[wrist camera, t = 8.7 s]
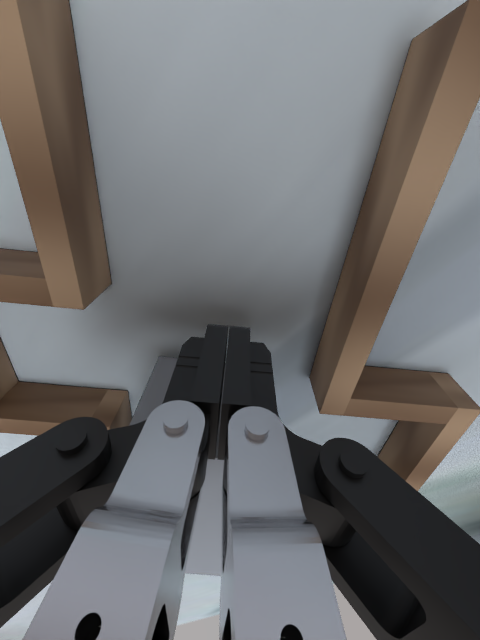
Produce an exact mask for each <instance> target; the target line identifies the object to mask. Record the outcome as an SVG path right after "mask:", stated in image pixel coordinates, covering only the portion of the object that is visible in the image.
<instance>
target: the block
mask: <svg viewBox="0 0 480 640" xmlns="http://www.w3.org/2000/svg"><path fill="white" fill-rule="evenodd" d="M177 360H178V358H171V357H161V356H159V358H158V361H157V363H156V365H155V367H154V370H153V372H152V374H151V377H150V379H149V381H148V383H147V386H146V388H145V390H144V393H143V395H142V397H141V400H140V402H139V404H138V406H137V409H136V411H135V413H134V416H133V418H132V420H131V422H130V425H134V424H137V423H140V422H142V421H144V420H146V419H147V418H148V417H149V415H150V414H151V412H152V411H153V410H154V409H156V408H157V407H158V406H160V405H162V403H163V401H164V398H165V395H166V392H167V389H168V386H169V383H170V380H171V377H172V374H173V371H174V368H175V367H176V362H177ZM225 368H226V363H225ZM224 378H225V370H224ZM223 387H224V380H223ZM222 397H223V389H222ZM221 408H222V399H221ZM221 408H220V417H219V427H218V436H217V446H216V455H215V460H213V459H208V461H207V468H206V476H205V481H204V483H203V487H202V493H201V498H200V502H199V507H198V512H197V517H196V522H195V526H194V531H193V536H192V541H191V546H190V550H189V555H188V560H187V565H186V570H185V573H186V574H200V575H214V576H221V509H222V481H223V469H224V460H217V458H218V445H219V433H220V420H221ZM130 425H129V426H130Z"/></svg>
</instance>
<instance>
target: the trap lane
mask: <svg viewBox="0 0 480 640" xmlns="http://www.w3.org/2000/svg"><path fill="white" fill-rule="evenodd" d="M479 98H480V0H468V1H466V2H465V3H463V4H462V5H460V6H459V7H458V8H456V9H455V10H453V11H452V12H450V13H449V14H448V15H446V16H445V17H443V18H442V19H441V20H439V21H438V22H436V23H435V24H433V25H432V26H431V27H429V28H428V29H426V30H425V31H423V32H422V33H421V34H419V35H418V36H416V37H415V38H413V39H412V42H411V45H410V49H409V52H408V55H407V59H406V62H405V65H404V68H403V72H402V75H401V78H400V81H399V85H398V88H397V91H396V95H395V98H394V101H393V104H392V108H391V111H390V114H389V118H388V121H387V124H386V127H385V131H384V134H383V137H382V141H381V144H380V147H379V150H378V154H377V157H376V160H375V164H374V167H373V170H372V173H371V177H370V180H369V183H368V187H367V190H366V193H365V196H364V200H363V203H362V206H361V210H360V213H359V216H358V219H357V223H356V226H355V229H354V232H353V236H352V239H351V242H350V246H349V249H348V252H347V255H346V259H345V262H344V265H343V269H342V272H341V275H340V278H339V282H338V285H337V288H336V292H335V295H334V298H333V301H332V305H331V308H330V311H329V315H328V318H327V321H326V324H325V328H324V331H323V334H322V338H321V341H320V344H319V347H318V351H317V354H316V357H315V360H314V364H313V367H312V370H311V374H310V377H309V378H310V381H311V385H312V388H313V392H314V395H315V399H316V402H317V406H318V409H319V413H320V414H331V415H343V416H355V417H366V418H378V419H390V420H399V422H398V423H397V425H396V427H395V428H394V430H393V432H392V434H391V435H390V437H389V439H388V440H387V442H386V444H385V445H384V447H383V449H382V450H381V452H380V454H379V456H378V458H379V459H380V460H381V461H383V462H384V463H385V464H386V465H387V466H388V467H390V468H391V469H392V470H393V471H394V472H396V473H397V474H398V475H399V476H400V477H401V478H403V479H404V480H405V481H406V482H407V483H408V484H410V485H411V486H412V487H413V488H414V489H415V490H417V491H418V490H419V489H420V487H421V486H422V485H423V484H424V482H425V481H426V480H427V479H428V477H429V476H430V475H431V474H432V472H433V471H434V470H435V469H436V467H437V466H438V465H439V464H440V462H441V461H442V460H443V459H444V457H445V456H446V455H447V454H448V452H449V451H450V450H451V449H452V447H453V446H454V445H455V444H456V442H457V441H458V440H459V439H460V437H461V436H462V435H463V434H464V432H465V431H466V430H467V429H468V427H469V426H470V425H471V424H472V422H473V421H474V420H475V419H476V417H477V416H478V415H479V414H480V407H479V406H478V405H477V404H476V403H475V402H474V401H473V400H472V399H471V397H470V396H469V395H468V394H467V393H466V392H465V391H464V390H463V389H462V388H461V387H460V386H459V385H458V383H457V382H456V381H455V380H454V379H453V378H452V377H451V376H450V375H449V374H447V373H436V372H425V371H414V370H403V369H392V368H381V367H370V366H365V363H366V361H367V359H368V356H369V354H370V352H371V349H372V347H373V345H374V342H375V340H376V338H377V335H378V333H379V331H380V328H381V326H382V324H383V321H384V319H385V317H386V314H387V312H388V310H389V307H390V305H391V303H392V300H393V298H394V296H395V294H396V291H397V289H398V287H399V284H400V282H401V280H402V277H403V275H404V273H405V270H406V268H407V266H408V263H409V261H410V259H411V256H412V254H413V252H414V249H415V247H416V245H417V242H418V240H419V238H420V235H421V233H422V231H423V228H424V226H425V224H426V221H427V219H428V217H429V214H430V212H431V210H432V207H433V205H434V203H435V200H436V198H437V196H438V193H439V191H440V189H441V186H442V184H443V182H444V179H445V177H446V175H447V172H448V170H449V168H450V165H451V163H452V161H453V158H454V156H455V154H456V151H457V149H458V147H459V144H460V142H461V140H462V137H463V135H464V133H465V130H466V128H467V126H468V123H469V121H470V119H471V116H472V114H473V112H474V109H475V107H476V105H477V102H478V100H479ZM0 119H1V122H2V126H3V130H4V133H5V137H6V140H7V144H8V147H9V151H10V154H11V158H12V161H13V165H14V169H15V172H16V176H17V179H18V183H19V186H20V190H21V193H22V197H23V201H24V204H25V208H26V211H27V215H28V218H29V222H30V225H31V229H32V232H33V236H34V240H35V243H36V247H37V250H38V252H29V251H19V250H9V249H0V302H8V303H19V304H30V305H40V306H51V307H61V308H72V309H82V310H84V309H85V308H86V307H87V306H88V305H89V304H90V303H91V302H93V301H94V300H95V299H96V298H97V297H98V296H99V295H100V294H101V293H102V292H103V291H104V290H105V289H106V288H107V287H108V286H109V285H110V284H112V283H111V276H110V270H109V263H108V257H107V250H106V243H105V237H104V230H103V224H102V217H101V210H100V204H99V197H98V191H97V184H96V177H95V171H94V164H93V157H92V151H91V144H90V138H89V131H88V124H87V118H86V111H85V105H84V98H83V91H82V85H81V78H80V72H79V65H78V58H77V52H76V45H75V39H74V32H73V25H72V19H71V12H70V5H69V0H0ZM78 417H93V418H96V419H99V420H101V421H102V422H103V423H104V424H105V425H106V427H107V430H110V429H115V428H120V427H125V426H129V425H130V422H131V420H132V415H131V409H130V402H129V395H128V391H122V390H110V389H98V388H86V387H75V386H63V385H51V384H40V383H28V382H18V379H17V377H16V375H15V372H14V370H13V368H12V365H11V363H10V360H9V358H8V356H7V353H6V351H5V349H4V346H3V344H2V342H1V339H0V433H13V434H26V435H38V436H39V435H41V434H42V433H44V432H46V431H48V430H50V429H51V428H53V427H55V426H57V425H58V424H60V423H62V422H64V421H67V420H70V419H73V418H78Z"/></svg>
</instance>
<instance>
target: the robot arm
mask: <svg viewBox="0 0 480 640" xmlns="http://www.w3.org/2000/svg"><path fill="white" fill-rule="evenodd" d="M227 334H228V326H222V325H211V324H208V325H207V329H206V333H205V338H199V337H191V338H190V339H189V340H187V341H186V342H185V343H184V344H183V345H182V348H181V351H180V354H179V358H178V360H177V362H176V367H175V368H174V371H173V374H172V377H171V380H170V383H169V386H168V389H167V392H166V395H165V398H164V401H163V403H162V405H160V406H158V407H157V408H156V409H154V410H153V411H152V412H151V414H150V415H149V417H148V418H147V419H146V420H144V421H142V422H140V423H137V424H134V425H130V426H125V427H120V428H115V429H110V430H107V427H106V425H105V424H104V423H103V422H102V421H101V420H99V419H96V418H93V417H78V418H73V419H70V420H67V421H64V422H62V423H60V424H58V425H57V426H55V427H53V428H51V429H50V430H48V431H46V432H44V433H42V434H41V435H39V436H37V437H35V438H34V439H32V440H30V441H28V442H27V443H25V444H23V445H21V446H19V447H18V448H16V449H14V450H12V451H11V452H9V453H7V454H5V455H3V456H2V457H0V628H1V627H2V626H3V625H4V624H5V623H6V622H7V621H8V620H9V619H11V618H12V617H13V616H14V615H15V614H16V613H17V612H18V611H19V610H20V609H22V608H23V607H24V606H25V605H26V604H27V603H28V602H29V601H30V600H31V599H33V598H34V597H35V596H36V595H37V594H38V593H39V592H40V591H41V590H42V589H43V588H45V587H46V586H47V585H48V584H49V583H50V582H51V581H52V580H53V581H52V583H51V585H50V587H49V589H48V591H47V593H46V595H45V597H44V599H43V601H42V603H41V605H40V607H39V608H38V610H37V612H36V614H35V616H34V618H33V620H32V622H31V624H30V626H29V628H28V630H27V632H26V634H25V636H24V638H23V639H22V640H173V639H174V634H175V629H176V624H177V619H178V614H179V609H180V603H181V597H182V589H183V582H184V575H185V570H186V565H187V560H188V555H189V550H190V546H191V541H192V536H193V531H194V526H195V522H196V517H197V512H198V507H199V502H200V498H201V493H202V487H203V483H204V481H205V476H206V468H207V461H208V459H213V460H215V455H216V446H217V436H218V427H219V417H220V408H221V399H222V408H221V420H220V433H219V445H218V458H217V460H224V469H223V481H222V509H221V590H220V627H219V640H347V639H346V635H345V631H344V627H343V623H342V619H341V615H340V611H339V608H338V603H337V599H336V596H335V592H334V588H333V584H332V581H333V582H334V583H335V585H336V586H337V587H338V589H339V590H340V591H341V593H342V594H343V595H344V597H345V598H346V599H347V601H348V602H349V603H350V605H351V606H352V607H353V609H354V610H355V611H356V613H357V614H358V615H359V617H360V618H361V619H362V621H363V622H364V623H365V624H366V626H367V627H368V629H369V630H370V631H371V633H372V634H373V635H374V637H375V638H376V639H377V640H480V544H479V543H478V542H476V541H475V540H474V539H473V538H472V537H471V536H469V535H468V534H467V533H466V532H465V531H464V530H462V529H461V528H460V527H459V526H458V525H456V524H455V523H454V522H453V521H452V520H451V519H449V518H448V517H447V516H446V515H445V514H444V513H442V512H441V511H440V510H439V509H438V508H437V507H435V506H434V505H433V504H432V503H431V502H430V501H428V500H427V499H426V498H425V497H424V496H422V495H421V494H420V493H419V492H418V491H417V490H415V489H414V488H413V487H412V486H411V485H410V484H408V483H407V482H406V481H405V480H404V479H403V478H401V477H400V476H399V475H398V474H397V473H396V472H394V471H393V470H392V469H391V468H390V467H388V466H387V465H386V464H385V463H384V462H383V461H381V460H380V459H379V458H378V457H377V456H376V455H374V454H373V453H372V452H371V451H370V450H368V449H367V448H366V447H365V446H363V445H361V444H360V443H358V442H356V441H353V440H350V439H346V438H334V439H331V440H329V441H327V442H326V443H325V444H324V445H323V446H321V445H319V444H316V443H314V442H311V441H308V440H306V439H303V438H301V437H299V436H297V435H295V434H293V433H292V432H291V431H290V430H288V429H287V428H286V427H285V426H284V424H283V423H282V421H281V420H280V418H279V415H278V412H277V404H276V395H275V387H274V378H273V370H272V361H271V353H270V351H269V350H268V349H267V347H266V346H265V344H264V343H257V342H250V328H246V327H235V326H230V329H229V339H228V349H227V358H226V346H227ZM225 359H226V368H225ZM224 370H225V378H224ZM223 380H224V387H223ZM222 389H223V397H222ZM331 579H332V580H331Z"/></svg>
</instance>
